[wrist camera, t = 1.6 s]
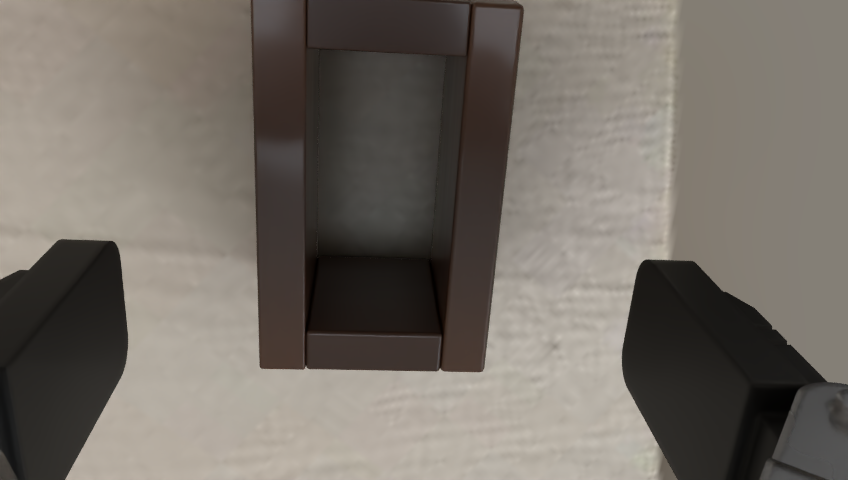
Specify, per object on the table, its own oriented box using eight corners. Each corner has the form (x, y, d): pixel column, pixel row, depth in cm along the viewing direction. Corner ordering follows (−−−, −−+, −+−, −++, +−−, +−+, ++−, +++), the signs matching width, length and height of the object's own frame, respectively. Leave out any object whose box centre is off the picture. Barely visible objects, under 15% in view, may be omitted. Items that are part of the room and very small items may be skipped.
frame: (275, -29, 17) (249, -11, 14) (493, -15, 18) (525, 5, 14) (279, 287, 20) (259, 369, 17) (464, 292, 21) (484, 374, 17)
